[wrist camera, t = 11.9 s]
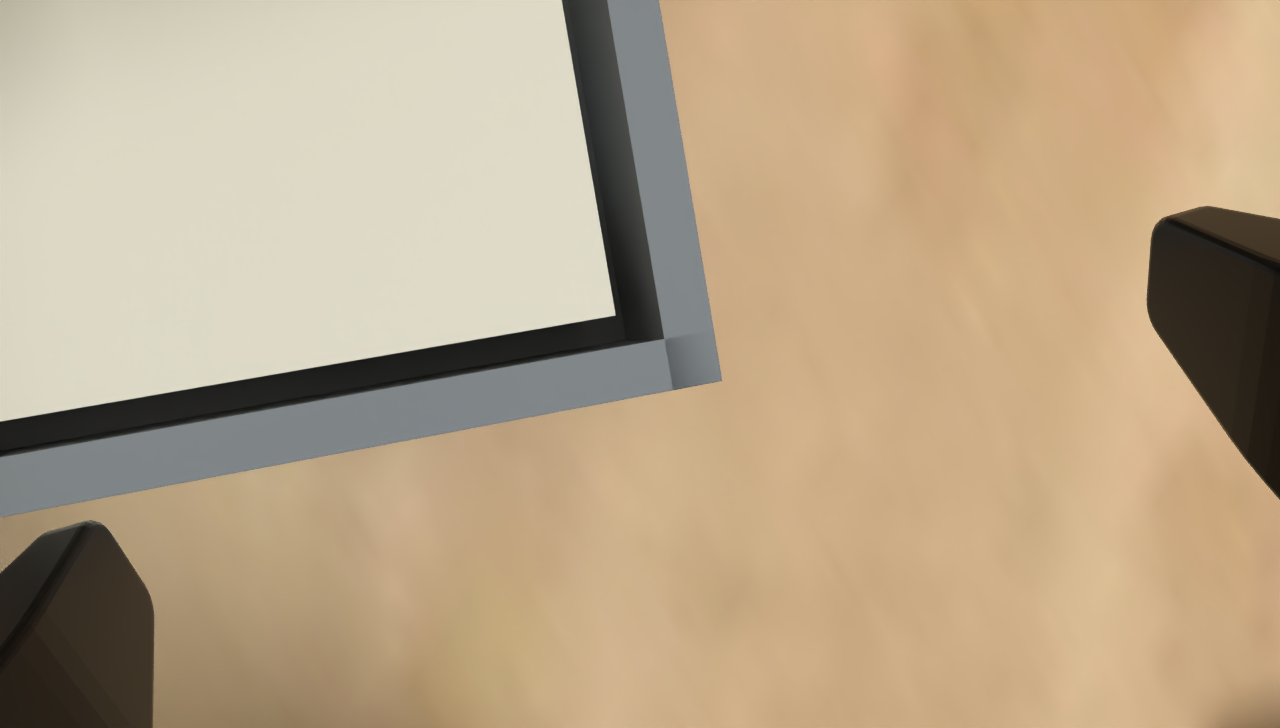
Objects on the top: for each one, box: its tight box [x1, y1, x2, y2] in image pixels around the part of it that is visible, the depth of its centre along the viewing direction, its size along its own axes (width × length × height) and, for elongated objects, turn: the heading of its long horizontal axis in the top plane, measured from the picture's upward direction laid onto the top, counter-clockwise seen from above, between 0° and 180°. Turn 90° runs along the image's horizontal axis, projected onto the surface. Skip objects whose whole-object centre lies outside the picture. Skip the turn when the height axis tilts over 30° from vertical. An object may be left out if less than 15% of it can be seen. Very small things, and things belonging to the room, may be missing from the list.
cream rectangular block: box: [0, 0, 616, 421], centre depth 17 cm, size 6×10×3 cm, turn 100°
